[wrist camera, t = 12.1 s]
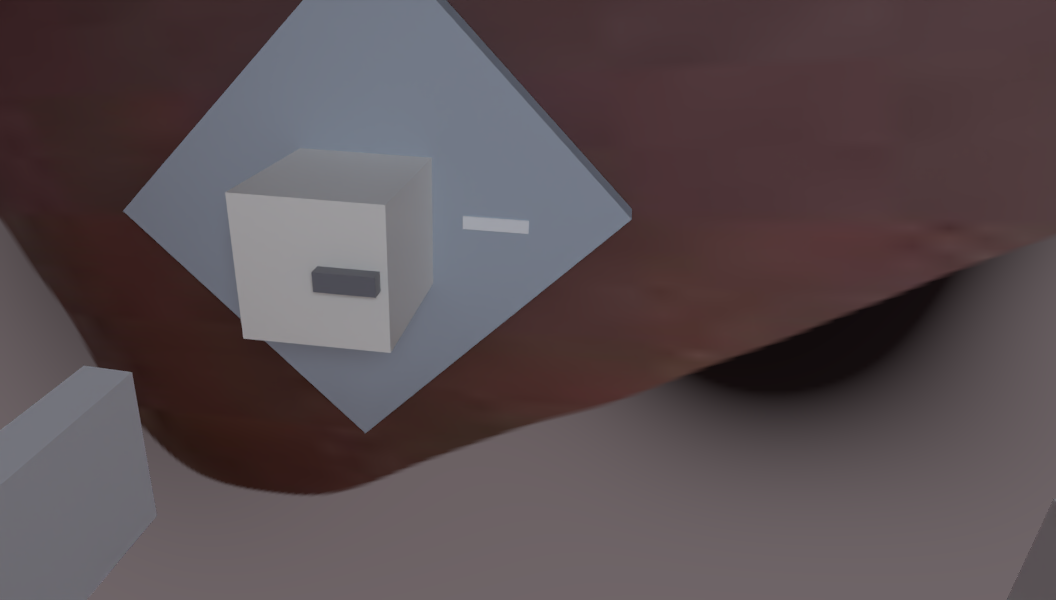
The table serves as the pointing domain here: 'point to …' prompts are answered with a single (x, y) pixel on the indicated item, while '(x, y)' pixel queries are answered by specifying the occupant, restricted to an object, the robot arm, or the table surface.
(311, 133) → the plate
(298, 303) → the white box
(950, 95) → the table surface
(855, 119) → the table surface
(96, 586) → the robot arm
